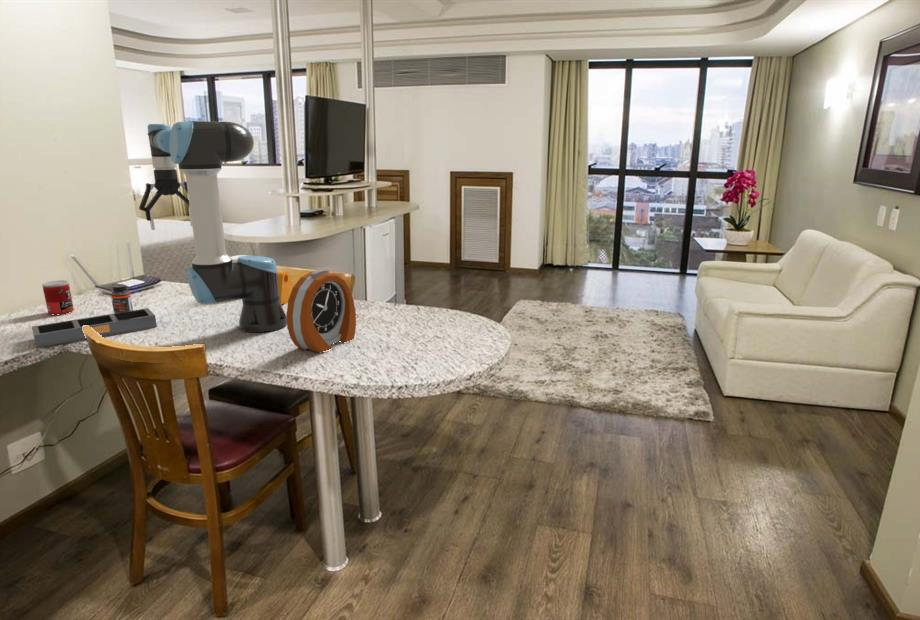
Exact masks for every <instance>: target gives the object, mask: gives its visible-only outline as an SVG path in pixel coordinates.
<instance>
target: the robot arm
mask: <svg viewBox="0 0 920 620" xmlns="http://www.w3.org/2000/svg"><path fill="white" fill-rule="evenodd" d="M147 136H148V141H149V149H150V155H151V164H152V167H153V175H154V183H149V182H147V183H145V190H144V192H143V196H142V199H141V201H140V205H139V206H138V210H140V211H143V212H144V213H145V217H146V221H148V222H149V224H150V225H149V226H150V229H151V230H152V231H155V230H156V229H155V222H154V221H155V220H154V214H153V213H154V212H153V211H151V210H152V208H153V207H154V206H155V204H156V203H157V202H158V200H159V199H160V198H161V197H162V196H175V195H176V196H177V197H179V198H180V199H181V200H182V201H183V202H184V203H185V204H186V205H187V206H188V215H189V223H190V227H192V233H193V235H192V236H193V242H194V248H195V257H194V258H192V260H191V267H189V268H188V269H186V277H187V279H186V280H187V282H188V286H189V288H190V290H191V291H190V292H191V293H192V296H193V298H194V299H195V301H197V303H198V304H200V305H210V304H213V305H215V304H217V303H224V302H230V301H236V300H241V299H242V306H241V311H240V315H239V319H238V327H239V330H241V329H242V330H241V331H243V330H245V331H244V332H246V331H251V332H250V333H265V332H264V331H268V332H272V331H277V330H280V329H283V328H284V327H287V316H286V315H287V313H285V310H284V307H283V306H282V305H283V304H281V303H280V299H279V288H278V276H277V273H278V272H277V271H278V269H277V263H276V261H275V260H274V259H273V258H271V257H267V256H261V255H248V256H241V257H238V260H237V261H238V262H236V263H232V258H231V256H230V255H229V254H227V249H226V240H225V231H224V224H223V223H224V222H223V216H222V215H223V214H222V207H221V198H220V192H219V191H220V190H219V182H218V174H219V173H220V171H221V170H222V169H223V168H222V163H229V162H231V163H232V162H236V161H240V160H242V159H245V158H247V156H249V155H250V154H251V152H253V149H254V137H253V134H252V133H251V132H250V130H249V129H248V128H247V127H245V126H243V125H242V124H239V123H236V122H231V121H209V120H208V121H202V120H201V121H199V120H198V121H196V120H187V121H177V122H175V123H174V124H173V125H172V127H171V125H170V124H168V123H148V125H147ZM177 165H178V170H177V169H176V168H177ZM178 171H180V172H181V173H182V174H183V175H184V176H185V180H186V181H181V182H179V177H178ZM180 187H181V188H182V189H184V190H185V192H186V193H187V196H188V198H187V197H186V196H185V195H184V194H183V193H182V192H181V191H180V190H179V188H180ZM154 188H155V189H156V192H155V193H154V196H153V197H152V198H151V199H150V201H149V202H148V199H149V198H150V195H151V191H152V190H153V189H154ZM147 202H148V204H147Z"/></svg>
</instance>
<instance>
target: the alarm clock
mask: <svg viewBox="0 0 920 620" xmlns="http://www.w3.org/2000/svg"><path fill="white" fill-rule="evenodd" d="M292 287H293V289H292V292H291V294H290V297H289V300H288V303H287V308H286V317H287V325H286V327H287V328H286V329H287V331H288V334H289V338H290V340H291V341H292V343H293V344H294V345H295V347H297V348H298V349H300V348H302V349H301V350H304V349H305V350H309V351H311V350H312V351H311V352H313V351H316V352H315V353H318V352H323V351H326V350H329V349H331V348H333V347H332V345H331V344H333V343H335V342H338V341H341V342H347V341H349V342H351V341H350V340H352V339H353V340H354V338H355V336H356V328H357V313H356V312H357V311H356V306H355V302H354V298H353V294H352V292H351V289H350V286H349V285H348V284H347V282H346V280H345V279H344V278H343V277H341V276H340V275H338V274H336V273H329V270H328V269H317V270H315V271H309V272H308V273H306V274H304V275H303V276H300V278H299V279H298V280H297V282H296V283H295V284H294V286H292ZM353 340H352V341H353ZM338 343H339V342H338ZM347 343H348V342H347ZM330 345H331V346H330ZM333 345H334V344H333Z"/></svg>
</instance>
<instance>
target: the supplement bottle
mask: <svg viewBox="0 0 920 620" xmlns="http://www.w3.org/2000/svg"><path fill="white" fill-rule="evenodd" d="M112 290H113V291H112V292H111V293H110V297H111V298H110V299H111V303H112V310H113V314H114V313H120V312H126V311H133V310H134V308H133V303H132V296H131V292H130V290H128V289H127V285H126V284H115V285H113V286H112Z"/></svg>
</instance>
